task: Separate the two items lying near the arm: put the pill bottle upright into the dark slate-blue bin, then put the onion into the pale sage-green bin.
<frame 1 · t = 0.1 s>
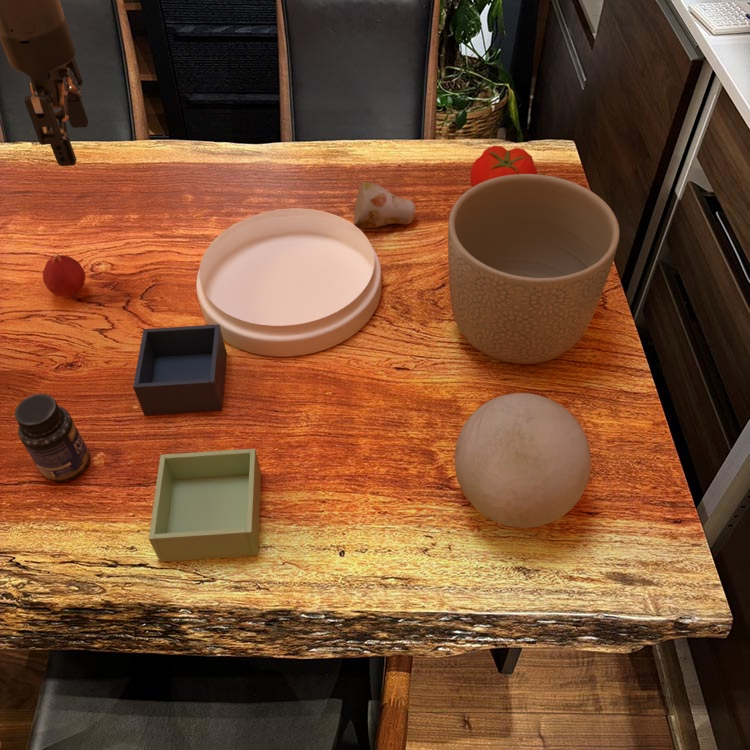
hand: (74, 144, 103), 25 cm above the table, tool pointing down, fingers open, 8 cm apart
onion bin: (212, 515, 95), on the table
plate: (291, 291, 120), on the table
pill bottle: (66, 464, 101), on the table
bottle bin: (186, 383, 109), on the table
decorative sphere: (514, 496, 96), on the table
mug: (384, 222, 130), on the table
tomato: (502, 195, 134), on the table
onion: (72, 296, 121), on the table
planter: (516, 331, 113), on the table
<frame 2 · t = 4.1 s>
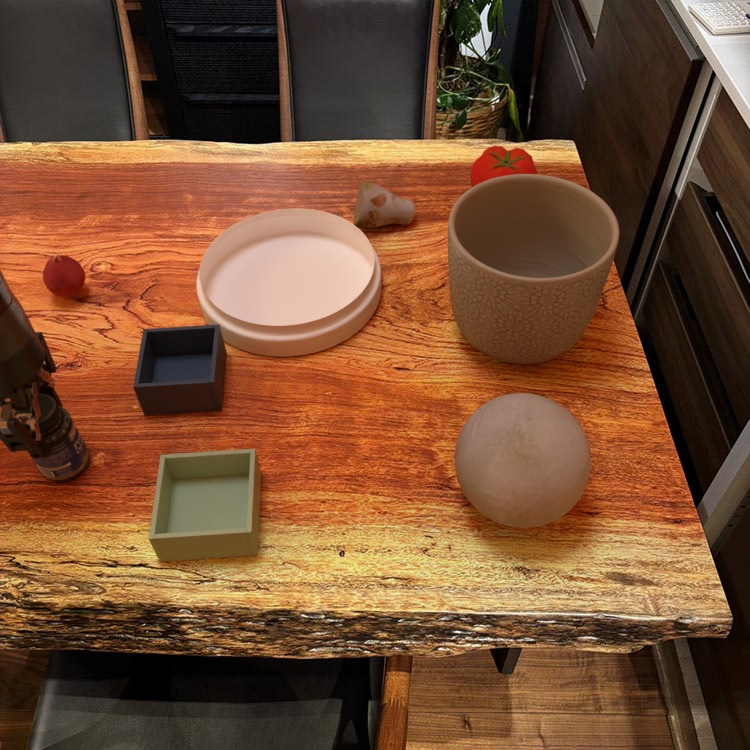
hand: (48, 431, 96), 7 cm above the table, tool pointing down, fingers closed on pill bottle, 6 cm apart
pill bottle: (66, 464, 101), on the table, touching gripper
everything else where it was.
when the fingers open (7 cm above the table, at t = 11.1 s): pill bottle stays where it is, resting on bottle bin.
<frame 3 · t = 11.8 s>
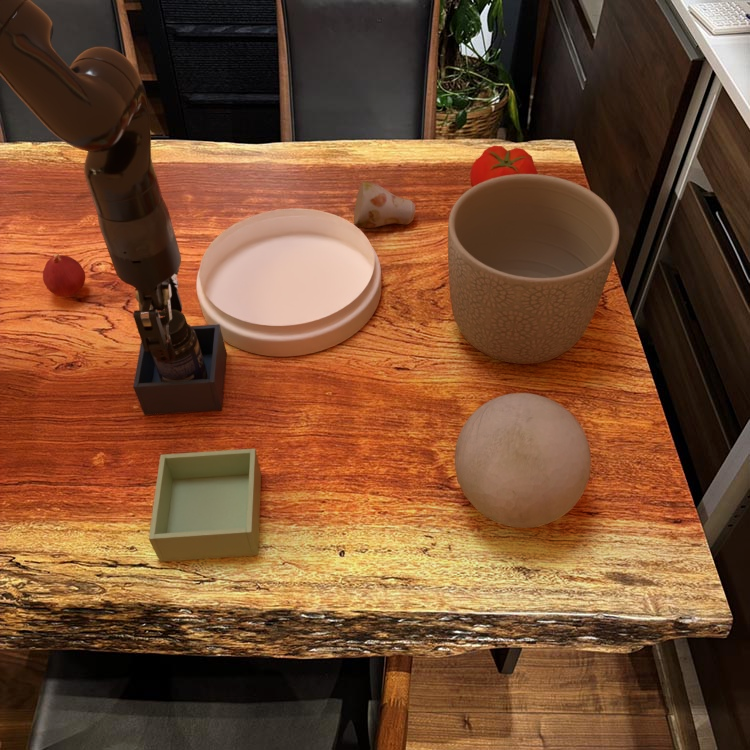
hand: (170, 335, 101), 9 cm above the table, tool pointing down, fingers open, 8 cm apart
pill bottle: (185, 380, 108), point 1 cm above the table, touching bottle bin
everything else where it was.
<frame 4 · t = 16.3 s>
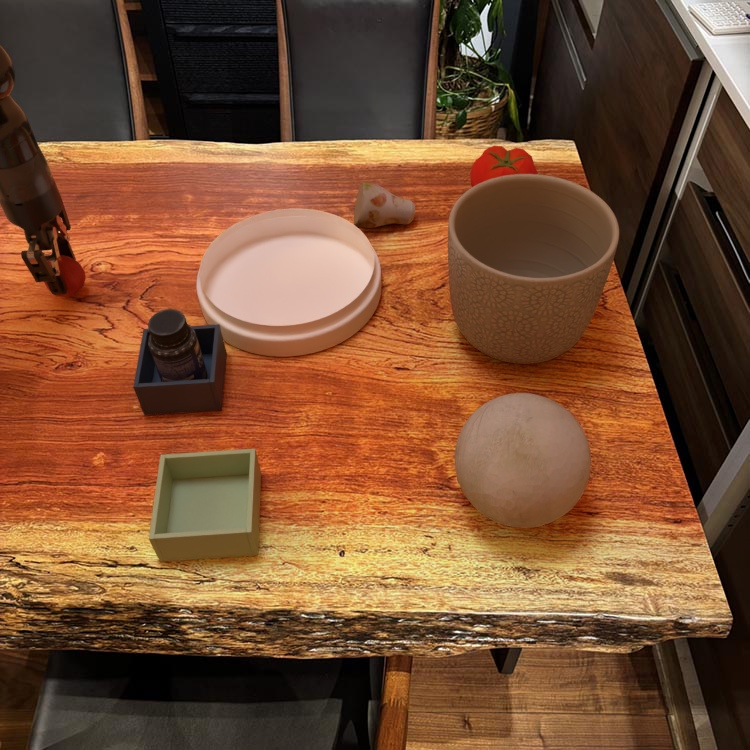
hand: (64, 277, 118), 4 cm above the table, tool pointing down, fingers closed on onion, 6 cm apart
onion: (72, 296, 121), on the table, touching gripper
everything else where it was.
when the fingers open (4 cm above the table, at t = 25.4 s): onion stays where it is, resting on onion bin.
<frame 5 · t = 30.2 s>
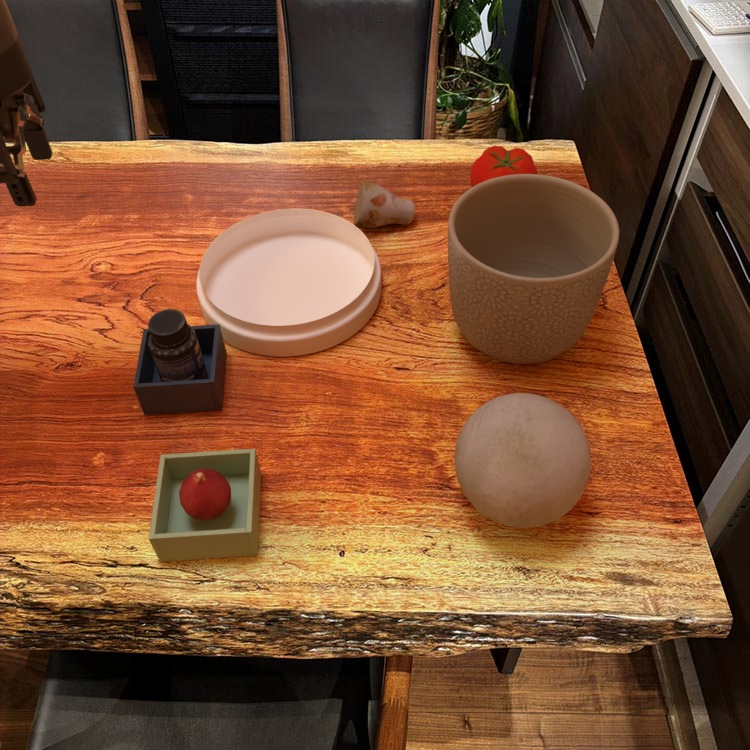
hand: (35, 180, 89), 30 cm above the table, tool pointing down, fingers open, 8 cm apart
onion: (211, 512, 95), point 1 cm above the table, touching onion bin
everything else where it was.
at the end: pill bottle inside the target area in the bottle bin (0.1 cm from its centre), point 0.6 cm above the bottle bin's base; pill bottle tilted 0°; onion inside the target area in the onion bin (0.1 cm from its centre), point 0.6 cm above the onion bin's base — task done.
